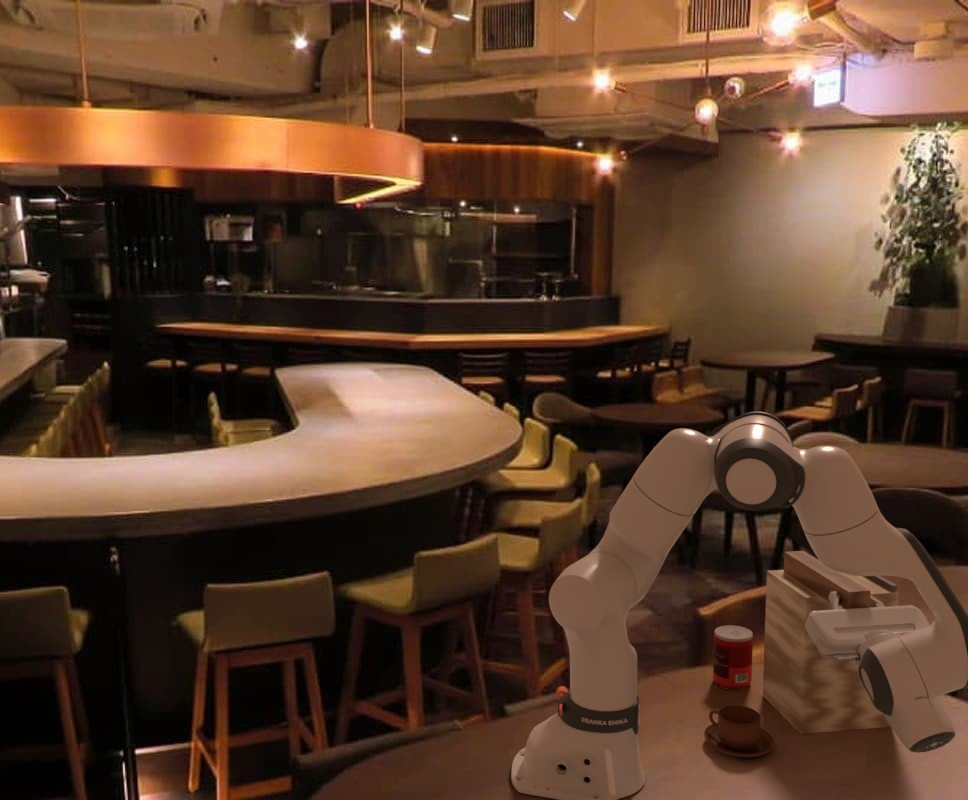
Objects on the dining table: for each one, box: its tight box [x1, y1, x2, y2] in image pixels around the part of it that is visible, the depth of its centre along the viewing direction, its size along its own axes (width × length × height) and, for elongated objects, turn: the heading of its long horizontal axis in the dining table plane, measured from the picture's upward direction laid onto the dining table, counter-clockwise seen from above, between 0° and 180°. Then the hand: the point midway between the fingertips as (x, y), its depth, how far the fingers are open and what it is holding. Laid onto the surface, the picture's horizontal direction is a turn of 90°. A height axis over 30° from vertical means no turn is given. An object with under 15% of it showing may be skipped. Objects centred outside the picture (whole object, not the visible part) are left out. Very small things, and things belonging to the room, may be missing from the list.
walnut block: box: [783, 550, 871, 609], centre depth 169 cm, size 4×24×4 cm, turn 8°
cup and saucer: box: [703, 704, 774, 759], centre depth 165 cm, size 12×12×6 cm
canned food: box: [712, 624, 754, 691], centre depth 190 cm, size 8×8×11 cm
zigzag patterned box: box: [762, 569, 899, 735], centre depth 177 cm, size 18×16×27 cm
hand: (847, 592), depth 161 cm, fingers closed on walnut block, 4 cm apart
